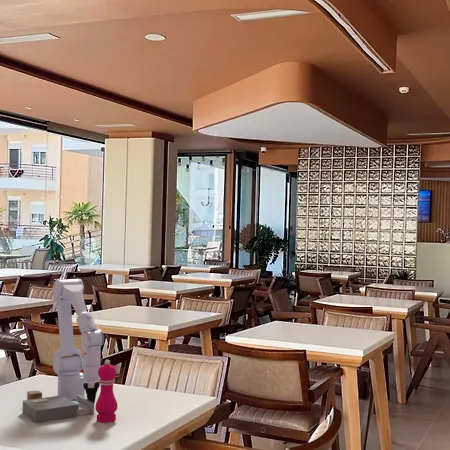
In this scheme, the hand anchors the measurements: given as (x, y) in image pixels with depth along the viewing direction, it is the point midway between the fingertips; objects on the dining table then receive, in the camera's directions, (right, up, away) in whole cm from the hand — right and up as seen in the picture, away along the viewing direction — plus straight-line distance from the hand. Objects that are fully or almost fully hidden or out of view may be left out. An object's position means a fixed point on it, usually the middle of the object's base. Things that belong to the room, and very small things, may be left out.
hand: (91, 403), depth 229 cm
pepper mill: (+8, -2, -13) cm, 15 cm away
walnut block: (-20, -1, +2) cm, 21 cm away
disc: (-6, -1, -4) cm, 7 cm away
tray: (-7, -1, -5) cm, 8 cm away
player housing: (-12, -2, -8) cm, 15 cm away
